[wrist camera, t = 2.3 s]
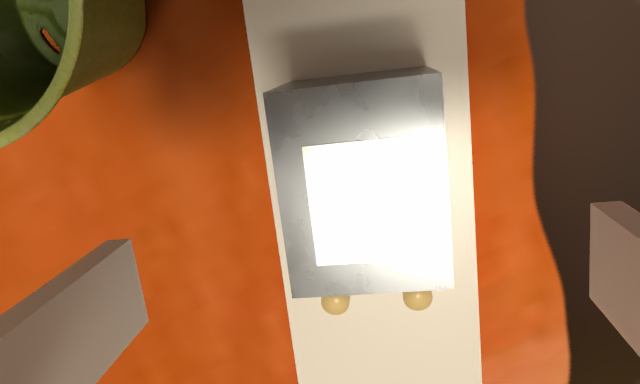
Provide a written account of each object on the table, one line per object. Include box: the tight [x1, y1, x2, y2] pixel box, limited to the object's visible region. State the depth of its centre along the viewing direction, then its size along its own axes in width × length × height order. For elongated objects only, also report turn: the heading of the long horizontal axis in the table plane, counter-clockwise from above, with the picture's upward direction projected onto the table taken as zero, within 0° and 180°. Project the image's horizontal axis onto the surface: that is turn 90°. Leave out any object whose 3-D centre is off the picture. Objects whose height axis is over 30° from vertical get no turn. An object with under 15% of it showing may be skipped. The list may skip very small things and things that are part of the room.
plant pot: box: [0, 0, 146, 148], centre depth 23 cm, size 12×12×11 cm
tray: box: [242, 0, 482, 384], centre depth 28 cm, size 31×11×6 cm, turn 7°
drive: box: [263, 66, 454, 299], centre depth 25 cm, size 9×7×7 cm
